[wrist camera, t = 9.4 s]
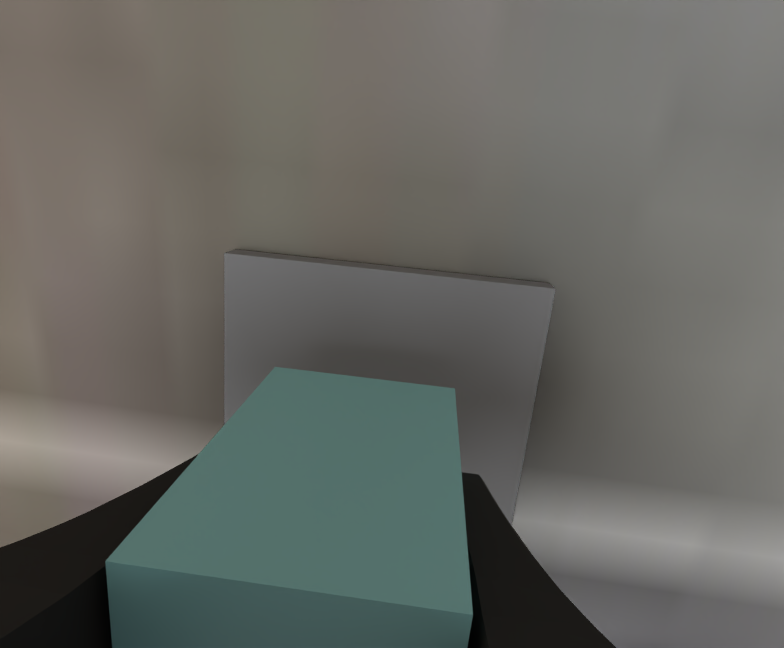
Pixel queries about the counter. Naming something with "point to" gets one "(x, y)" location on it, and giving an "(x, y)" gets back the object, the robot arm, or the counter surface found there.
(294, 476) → the block
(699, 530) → the counter surface
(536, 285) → the pad
